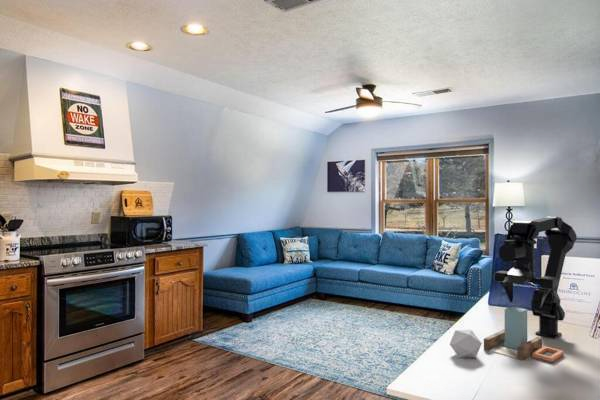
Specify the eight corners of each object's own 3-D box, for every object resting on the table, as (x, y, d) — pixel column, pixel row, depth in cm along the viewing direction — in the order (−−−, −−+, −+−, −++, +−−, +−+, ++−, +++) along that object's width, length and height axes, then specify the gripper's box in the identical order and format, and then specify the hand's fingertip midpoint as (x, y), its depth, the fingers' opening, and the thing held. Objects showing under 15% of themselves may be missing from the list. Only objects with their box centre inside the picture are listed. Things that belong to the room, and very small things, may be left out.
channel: (504, 339, 146) (504, 329, 146) (542, 348, 137) (542, 337, 137) (483, 349, 137) (483, 338, 137) (522, 360, 128) (522, 348, 128)
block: (511, 343, 142) (511, 306, 142) (527, 347, 138) (527, 309, 138) (504, 347, 139) (504, 309, 139) (520, 351, 135) (520, 312, 135)
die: (477, 366, 126) (489, 336, 129) (450, 350, 127) (463, 321, 130) (467, 365, 134) (478, 337, 136) (442, 350, 135) (454, 323, 138)
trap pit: (544, 350, 135) (544, 346, 135) (563, 355, 131) (563, 350, 131) (532, 358, 130) (532, 353, 130) (552, 363, 125) (552, 358, 125)
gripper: (485, 258, 144) (486, 304, 144) (545, 264, 130) (546, 315, 130) (500, 254, 151) (501, 298, 151) (559, 260, 137) (559, 308, 137)
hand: (525, 304), depth 142 cm, fingers open, 9 cm apart
